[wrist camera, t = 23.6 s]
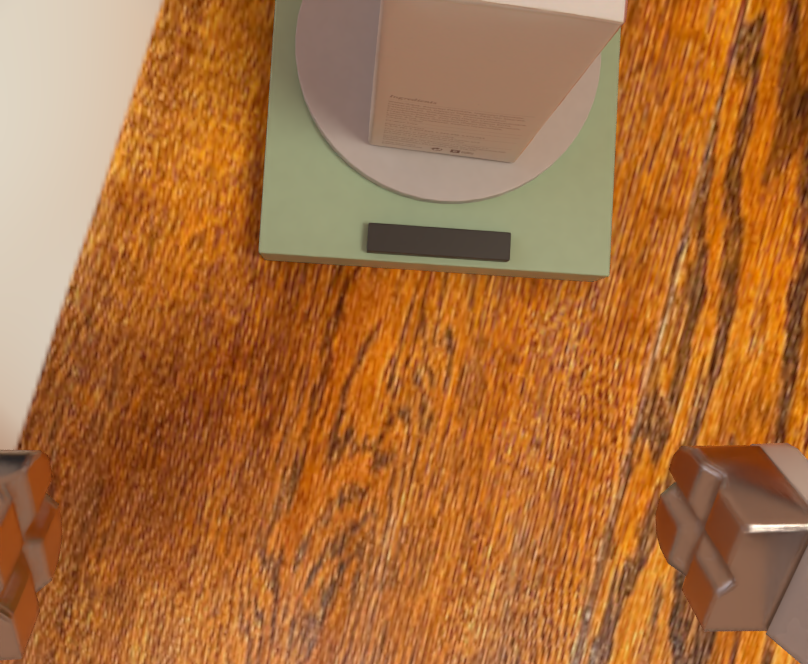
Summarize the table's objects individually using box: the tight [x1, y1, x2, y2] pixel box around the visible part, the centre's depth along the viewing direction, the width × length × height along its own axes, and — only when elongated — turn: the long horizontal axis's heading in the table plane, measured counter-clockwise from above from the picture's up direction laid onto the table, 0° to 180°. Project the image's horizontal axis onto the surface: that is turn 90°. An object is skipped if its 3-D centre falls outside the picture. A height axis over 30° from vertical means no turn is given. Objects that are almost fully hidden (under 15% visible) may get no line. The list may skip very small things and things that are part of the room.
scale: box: [259, 0, 621, 282], centre depth 33 cm, size 15×17×3 cm
